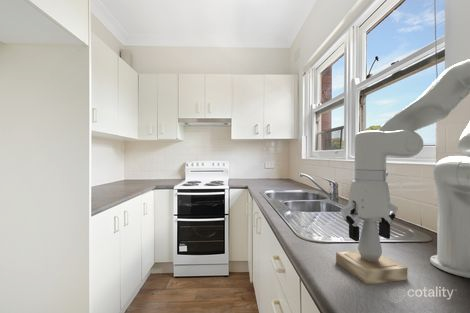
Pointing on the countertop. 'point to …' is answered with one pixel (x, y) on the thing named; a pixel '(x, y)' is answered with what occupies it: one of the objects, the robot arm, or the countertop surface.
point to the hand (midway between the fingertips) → (369, 238)
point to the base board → (371, 268)
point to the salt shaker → (370, 241)
